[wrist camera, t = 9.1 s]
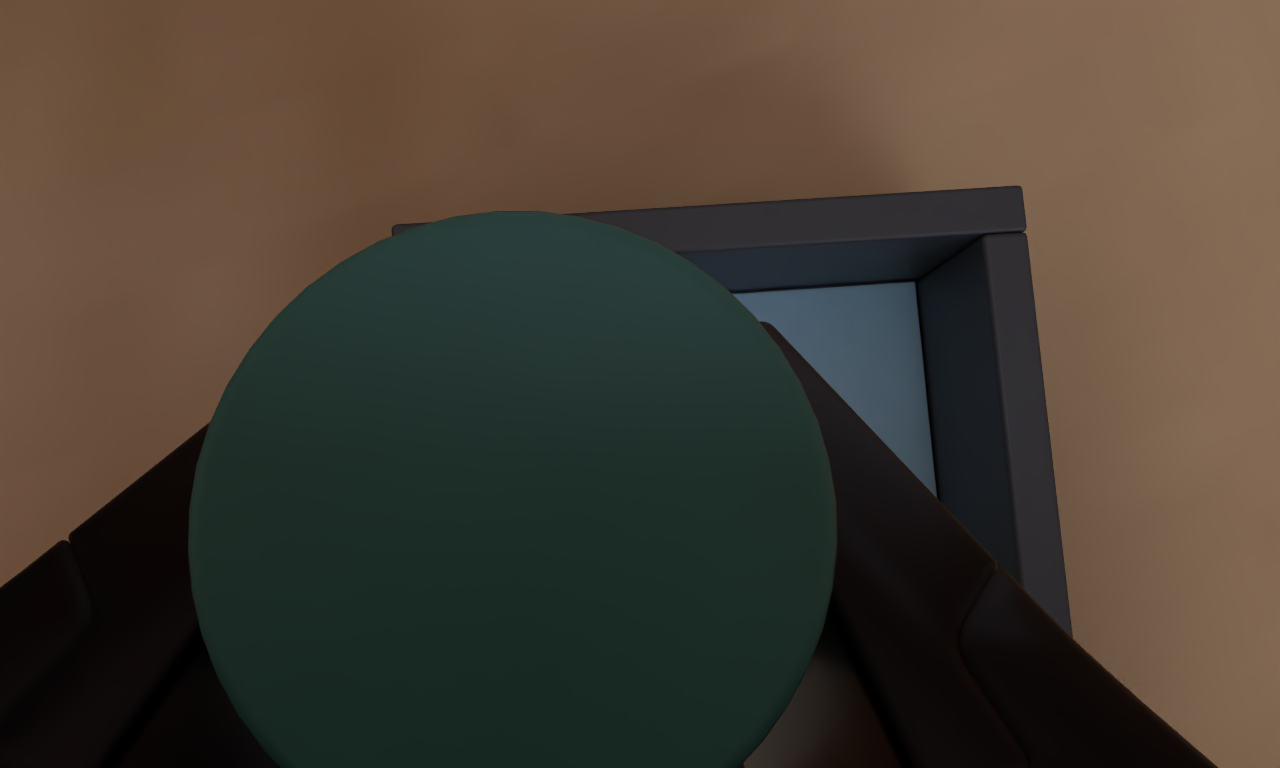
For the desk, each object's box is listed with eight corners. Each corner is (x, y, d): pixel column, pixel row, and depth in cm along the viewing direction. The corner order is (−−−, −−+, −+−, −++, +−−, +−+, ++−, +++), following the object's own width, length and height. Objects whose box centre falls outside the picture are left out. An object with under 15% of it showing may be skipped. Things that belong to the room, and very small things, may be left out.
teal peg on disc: (866, 574, 16) (1552, 724, 5) (510, 827, 15) (271, 1725, 4) (627, 227, 16) (708, -428, 5) (270, 460, 16) (-564, 319, 4)
